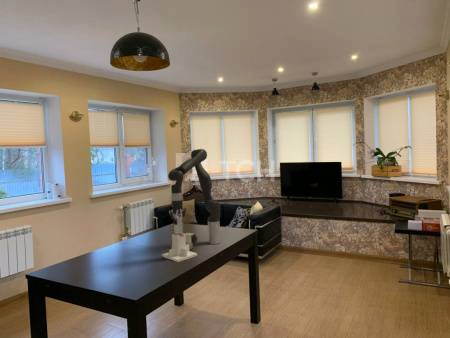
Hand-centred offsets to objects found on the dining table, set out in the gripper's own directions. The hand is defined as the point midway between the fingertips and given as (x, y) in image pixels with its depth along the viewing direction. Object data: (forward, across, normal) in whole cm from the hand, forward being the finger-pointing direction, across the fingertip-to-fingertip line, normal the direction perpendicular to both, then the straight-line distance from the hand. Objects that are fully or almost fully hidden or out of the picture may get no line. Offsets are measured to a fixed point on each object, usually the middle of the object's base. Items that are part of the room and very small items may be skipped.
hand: (178, 223), depth 231 cm
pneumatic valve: (+23, -16, -9) cm, 30 cm away
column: (+15, 0, 0) cm, 15 cm away
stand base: (+23, 0, 0) cm, 23 cm away
